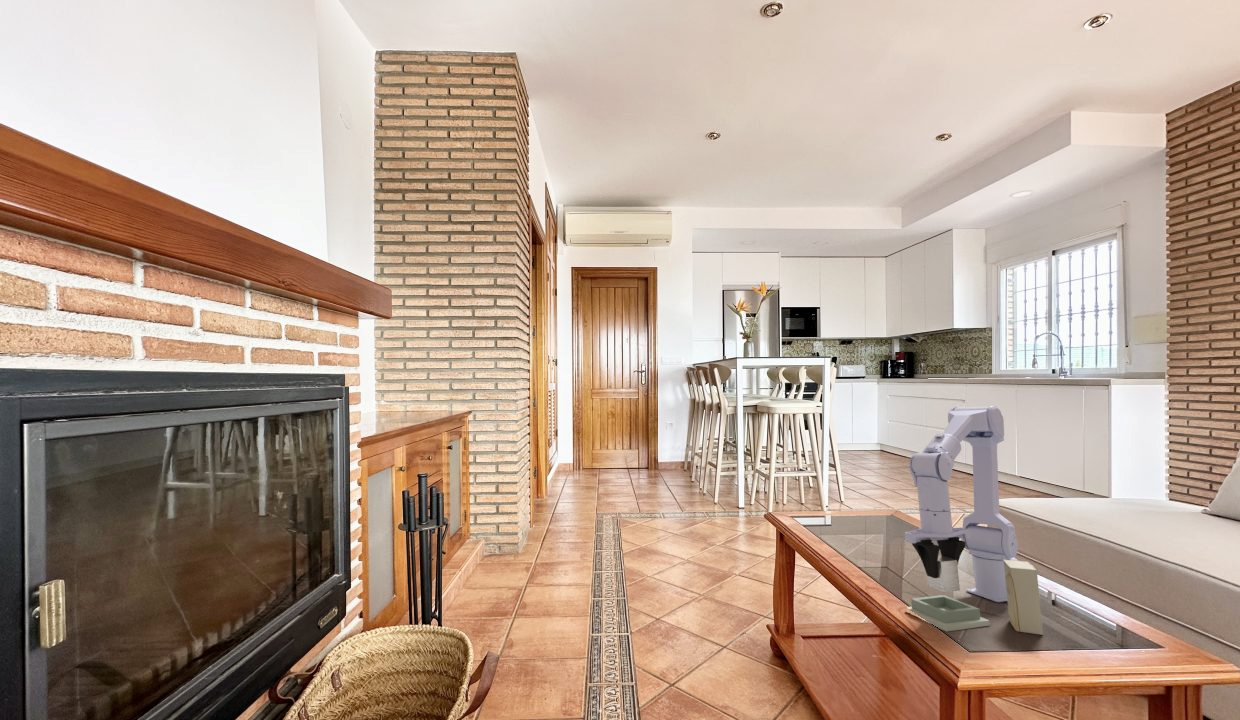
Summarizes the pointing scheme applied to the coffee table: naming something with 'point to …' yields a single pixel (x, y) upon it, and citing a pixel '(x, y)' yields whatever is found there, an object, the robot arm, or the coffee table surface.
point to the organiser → (947, 613)
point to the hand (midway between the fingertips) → (941, 575)
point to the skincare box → (1023, 596)
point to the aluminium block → (945, 575)
